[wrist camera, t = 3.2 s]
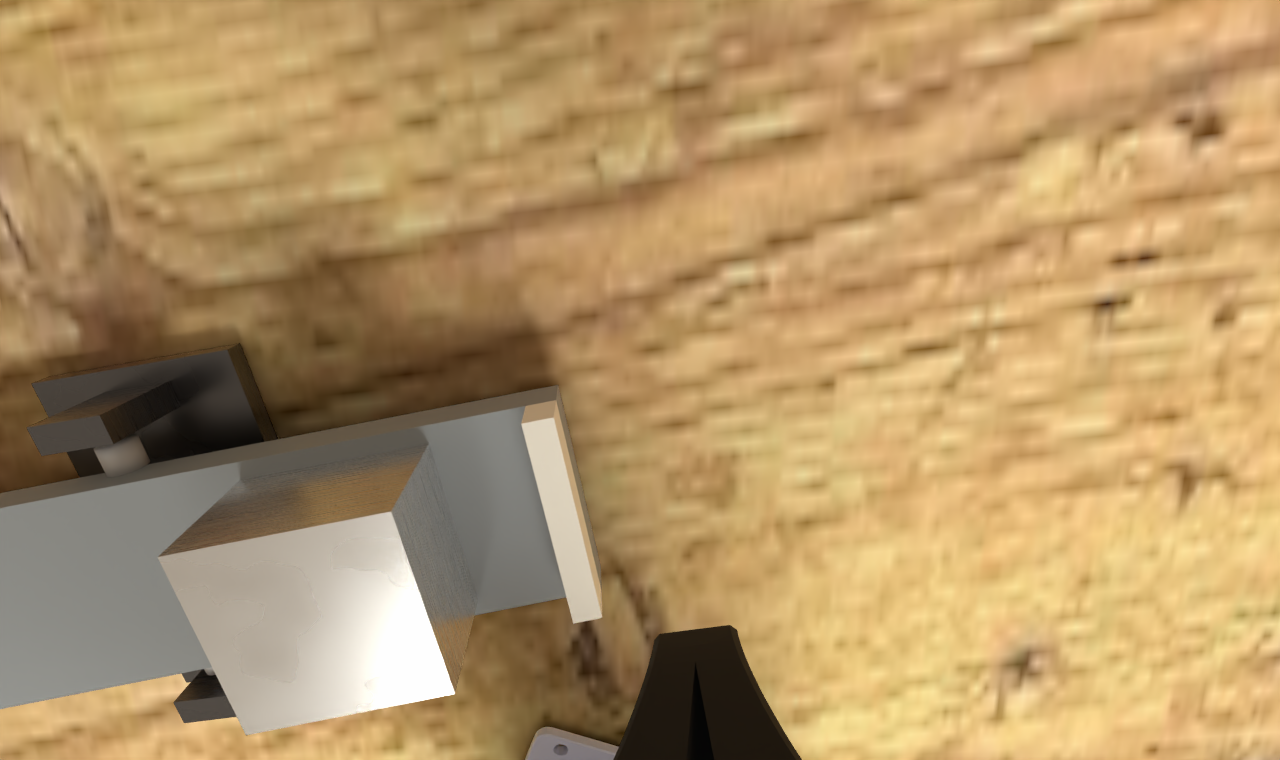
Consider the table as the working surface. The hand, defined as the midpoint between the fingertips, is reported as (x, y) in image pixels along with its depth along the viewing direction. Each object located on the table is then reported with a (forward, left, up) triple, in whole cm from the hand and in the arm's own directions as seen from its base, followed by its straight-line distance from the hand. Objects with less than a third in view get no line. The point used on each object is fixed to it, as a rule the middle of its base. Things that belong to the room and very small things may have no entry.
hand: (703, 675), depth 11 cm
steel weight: (+8, +5, -6) cm, 11 cm away
